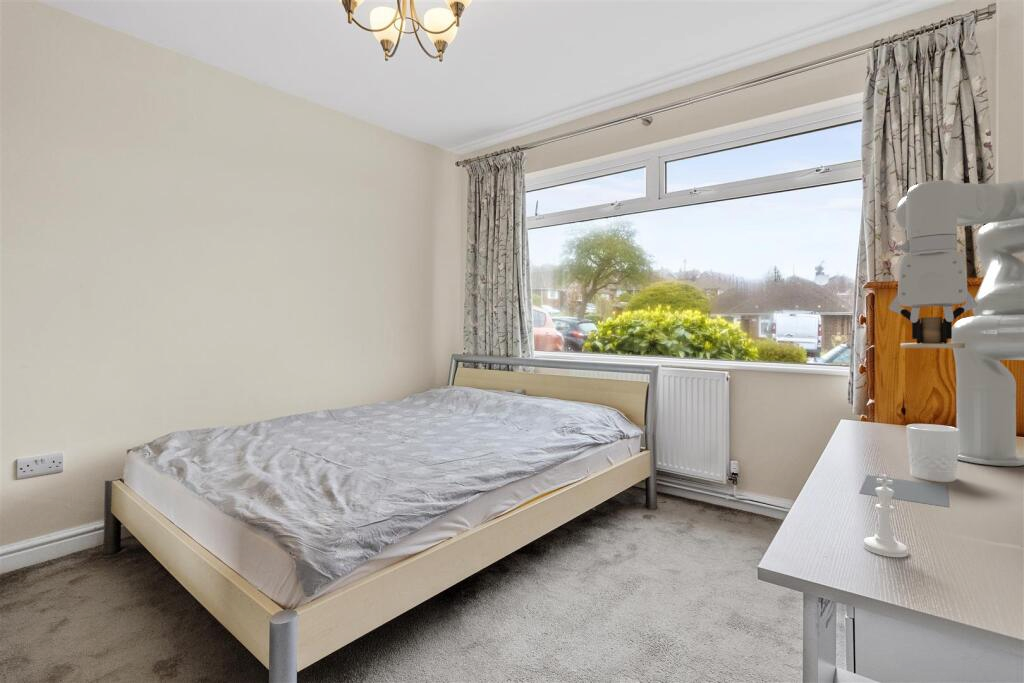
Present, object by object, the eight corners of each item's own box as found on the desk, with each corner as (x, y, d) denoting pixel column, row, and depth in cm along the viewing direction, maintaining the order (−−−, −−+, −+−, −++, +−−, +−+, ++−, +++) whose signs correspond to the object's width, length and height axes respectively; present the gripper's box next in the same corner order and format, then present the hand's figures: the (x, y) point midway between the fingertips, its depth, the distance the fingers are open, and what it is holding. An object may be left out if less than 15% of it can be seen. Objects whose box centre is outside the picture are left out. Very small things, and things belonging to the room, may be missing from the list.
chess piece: (864, 538, 71) (863, 468, 71) (909, 547, 68) (908, 473, 68) (860, 551, 67) (860, 476, 67) (907, 561, 64) (907, 482, 64)
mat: (866, 476, 100) (866, 474, 100) (946, 487, 92) (946, 485, 92) (859, 495, 89) (859, 493, 89) (949, 509, 81) (949, 507, 81)
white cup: (898, 476, 100) (897, 426, 100) (920, 471, 103) (920, 422, 103) (945, 486, 93) (945, 432, 93) (968, 480, 96) (968, 428, 96)
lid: (901, 346, 104) (901, 318, 104) (963, 346, 98) (963, 317, 98) (899, 348, 97) (899, 317, 97) (966, 348, 91) (966, 316, 91)
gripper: (877, 250, 100) (877, 343, 100) (991, 239, 89) (991, 343, 89) (880, 254, 105) (880, 342, 106) (987, 244, 95) (988, 342, 95)
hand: (931, 342), depth 98 cm, fingers closed on lid, 3 cm apart
